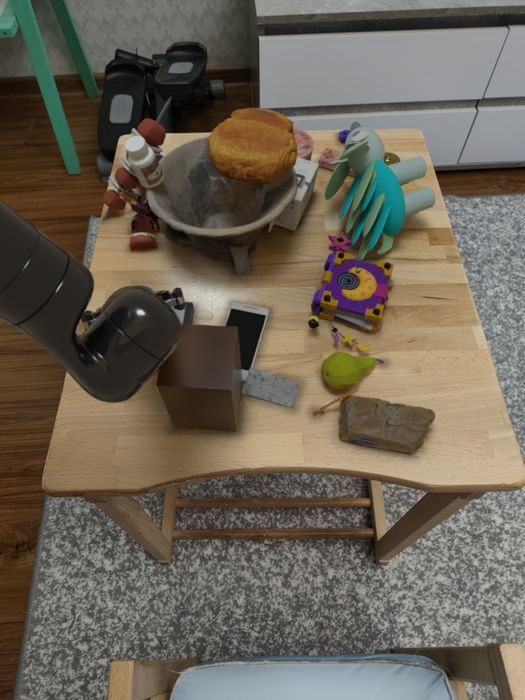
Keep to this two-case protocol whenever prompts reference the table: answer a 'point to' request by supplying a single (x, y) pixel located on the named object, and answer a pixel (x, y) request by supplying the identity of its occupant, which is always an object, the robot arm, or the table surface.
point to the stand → (203, 379)
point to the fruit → (345, 369)
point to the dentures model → (143, 238)
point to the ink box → (298, 195)
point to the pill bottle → (144, 162)
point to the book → (351, 291)
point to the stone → (383, 423)
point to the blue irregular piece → (343, 135)
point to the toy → (331, 156)
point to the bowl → (215, 206)
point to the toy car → (137, 203)
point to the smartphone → (247, 331)
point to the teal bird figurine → (377, 189)
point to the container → (303, 144)
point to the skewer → (126, 175)
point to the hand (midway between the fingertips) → (136, 304)
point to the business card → (271, 387)
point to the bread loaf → (253, 146)
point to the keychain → (332, 402)
